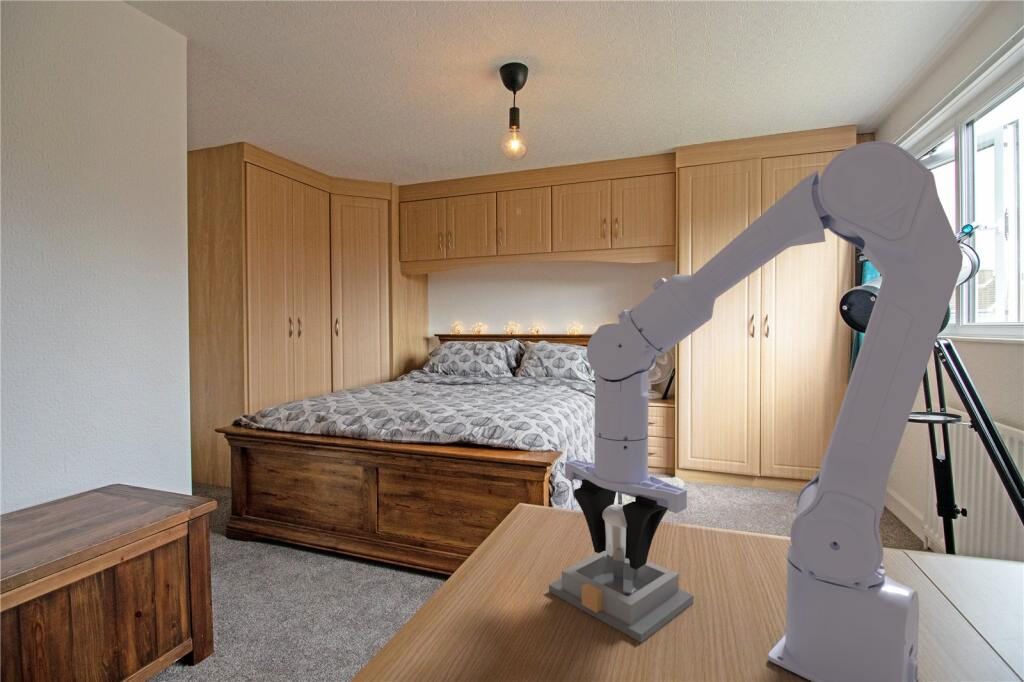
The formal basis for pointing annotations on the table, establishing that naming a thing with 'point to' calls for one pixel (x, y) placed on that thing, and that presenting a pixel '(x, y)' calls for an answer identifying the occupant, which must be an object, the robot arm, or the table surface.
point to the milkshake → (618, 550)
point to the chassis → (624, 596)
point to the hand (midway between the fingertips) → (619, 557)
